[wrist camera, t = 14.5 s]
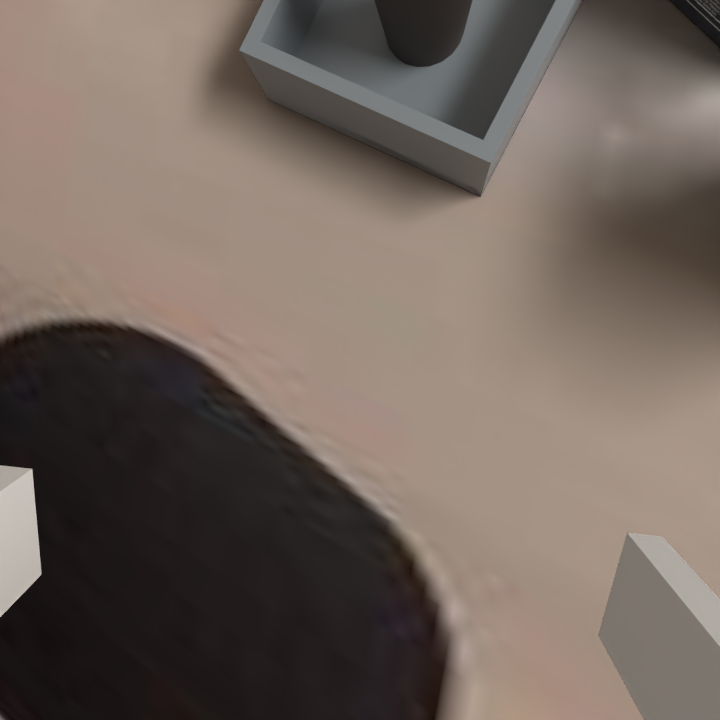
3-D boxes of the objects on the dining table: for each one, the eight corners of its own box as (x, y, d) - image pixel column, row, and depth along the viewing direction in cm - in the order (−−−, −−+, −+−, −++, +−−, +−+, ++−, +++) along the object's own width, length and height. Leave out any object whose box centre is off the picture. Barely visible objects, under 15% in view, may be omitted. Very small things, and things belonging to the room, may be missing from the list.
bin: (268, 99, 36) (239, 50, 30) (375, -120, 35) (365, -210, 29) (480, 196, 33) (490, 162, 28) (601, -35, 33) (635, -116, 27)
